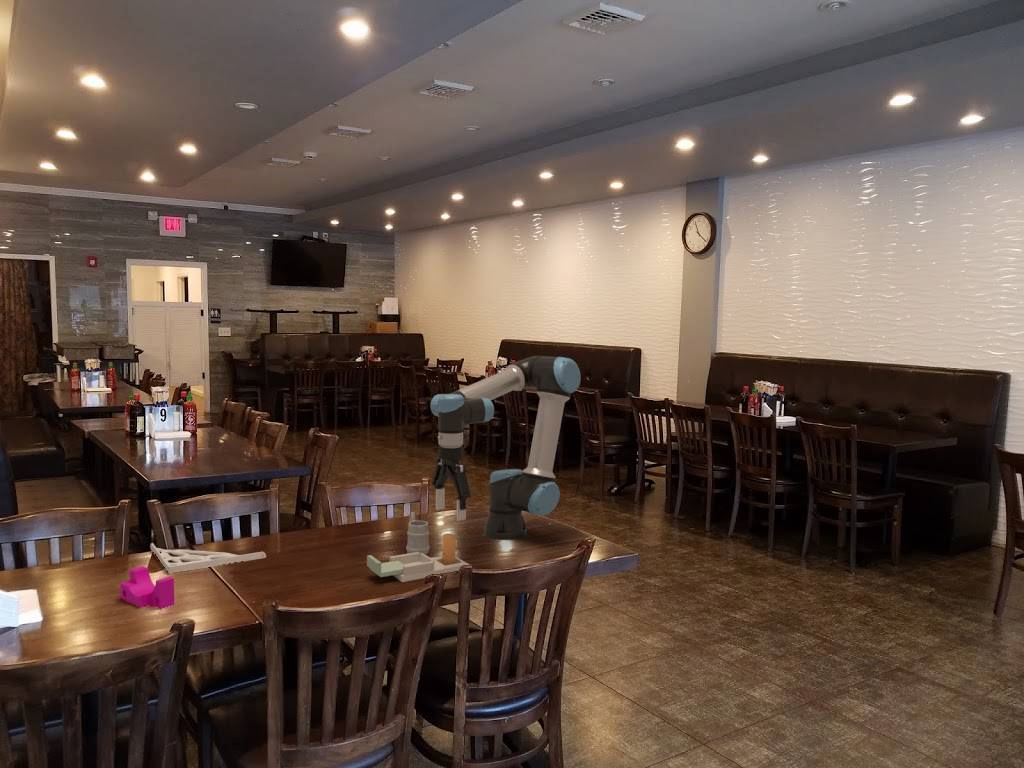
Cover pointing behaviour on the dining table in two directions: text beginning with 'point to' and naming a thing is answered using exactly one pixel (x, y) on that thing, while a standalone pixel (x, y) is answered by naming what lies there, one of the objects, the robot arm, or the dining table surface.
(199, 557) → the shelf bracket
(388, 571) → the pale green l-shaped block
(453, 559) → the orange cylinder
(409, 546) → the mug
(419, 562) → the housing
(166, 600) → the toy block
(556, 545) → the dining table surface
